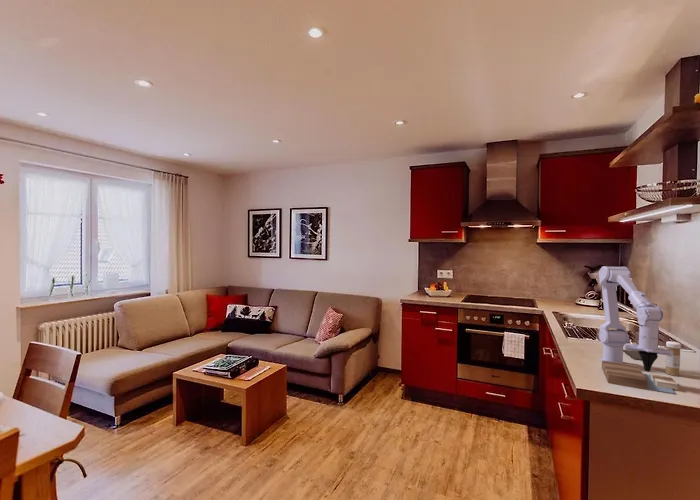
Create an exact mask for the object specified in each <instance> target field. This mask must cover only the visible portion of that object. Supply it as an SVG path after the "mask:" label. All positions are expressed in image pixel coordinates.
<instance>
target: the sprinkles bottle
mask: <svg viewBox="0 0 700 500" xmlns="http://www.w3.org/2000/svg"><path fill="white" fill-rule="evenodd" d="M665 347H666V349H667V350H672V351H673V356H669V355H665V371H664V372H665V374H667V375H668V376H673V377H678V376H680V374H681V373H680V369H681V368H680V366H681V349H682V345H681V343H680V342H678V341H677V342H676V341H669V340H668V341H667V340H666V343H665Z"/></svg>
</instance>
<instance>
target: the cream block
mask: <svg viewBox="0 0 700 500" xmlns="http://www.w3.org/2000/svg"><path fill="white" fill-rule="evenodd" d="M650 375H651V379H652V381H653V382H654V383H655V385H656V386H657V387H663V388H669V389H672V390H678V387H679V384H678V383H677V381H676V380H674V379H673V377H672V375H663V374H657V373H650Z"/></svg>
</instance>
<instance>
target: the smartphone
mask: <svg viewBox="0 0 700 500" xmlns="http://www.w3.org/2000/svg"><path fill="white" fill-rule="evenodd" d="M624 352H625V354H626V356H628V357H629V356H630V357H629V358H631V359H632V360H634V361H641V362H642V359H641V357H640V354H639V352H638V351H631V350H625V349H623V353H624Z"/></svg>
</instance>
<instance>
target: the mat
mask: <svg viewBox="0 0 700 500" xmlns="http://www.w3.org/2000/svg"><path fill="white" fill-rule="evenodd" d="M643 375H644V376H645V377H646V379H647V380H648V387H647V391H653V392H658V393H659V392H660V393H666V394H671V395H676V394H677V393H676V391H674V389H669V388H663V387H657V386H656V385H655V383H654V382H653V381H652V379H651V374H647V373H643Z"/></svg>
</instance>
